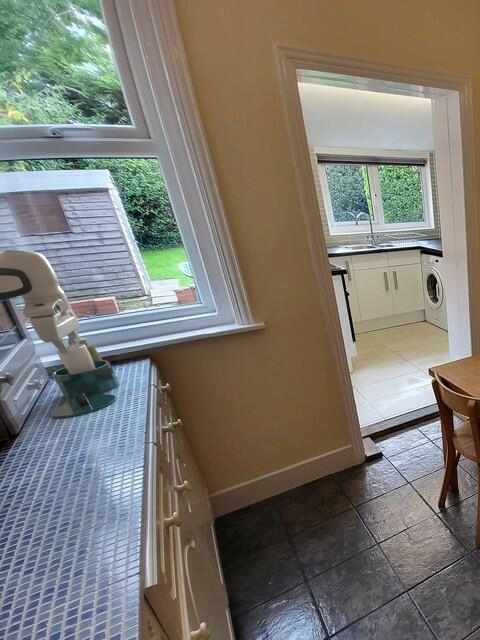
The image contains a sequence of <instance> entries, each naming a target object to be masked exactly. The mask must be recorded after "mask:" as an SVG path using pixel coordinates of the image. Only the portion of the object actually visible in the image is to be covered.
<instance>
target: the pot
mask: <svg viewBox="0 0 480 640" xmlns="http://www.w3.org/2000/svg"><path fill="white" fill-rule="evenodd" d="M93 363H94V365H95V368H96V369H93V370H89V371H85V372H81V373H76V374H70V373H69V372H68V370H67V369H66V367H65V366H64V367H61V368H59V369H56V370H54V371H53V372H52V373H51V375H52V377H53V379H54V381H55V383H56V385H57V387H58V388H59V390H60V392H61V394H62V395H63V397H64V399H67V400H75V398H74V396H73V395H75V394H78V393H85V395H86V397H90V396H96V395H102V394H104V393H106V392H109V391H112V390H113V389H115V388H118V386H119V385H120V382H119V379H118V377H117V375H116V373H115V371H114V369H113V367H112V365H111V363H110V361H108V360H105V359H104V360H103V359H102V360H99V361H93Z"/></svg>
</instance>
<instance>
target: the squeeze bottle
mask: <svg viewBox="0 0 480 640" xmlns="http://www.w3.org/2000/svg"><path fill="white" fill-rule="evenodd" d="M77 339H78V341H79V344H84V345H85V346H86V347H87V349H88V351H89V353H90V355H91V357H92V360H93V361H99V360H103V358H102V357H101V354H100V353H99V352H98V350H97V349H96V348H95V346H94V344H92V343H89V342H88V340H87V337H81V336H80V335H79V334H78V333H77ZM67 343H68V346H70V345H71V344H70V342H69V340H67Z"/></svg>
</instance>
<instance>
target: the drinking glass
mask: <svg viewBox="0 0 480 640" xmlns="http://www.w3.org/2000/svg"><path fill="white" fill-rule="evenodd" d="M66 346H67V347H68V349H69V351H68V352H67V353H60V352H59V350H58V348H56V353H57V355H58V357H59V359H60V361H61V363H62V365H63V366H64V367H66V369H67V370H68V372H69V373H70V374H76V373H81V372H85V371H89V370H93V369H96V368H95V365H94V363H93V360H92V357H91V355H90V353H89V351H88V349H87V347H86V346H85V345H84V344H76V345H70V346H69V345H66Z"/></svg>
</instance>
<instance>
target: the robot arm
mask: <svg viewBox="0 0 480 640" xmlns="http://www.w3.org/2000/svg"><path fill="white" fill-rule="evenodd" d="M20 296H21V298H22V300H23V302H24V308H23V310H22V314H23V315H24V317H25V318H26V319H29V322H30V325H31V326H32V328H33V330H34V331H35V333H36V335H37V336H38V338H39V339H40V340H41V341H42V342H43V343H52V345H53V346H54V347H55V348H56V349H58V350H59V352H60V353H67V352H68V351H69V349H68V347H67V346H68V345H66V344H65V341H64V338H66V337H67V338H68V341H69V342H70V344H71V345H76V344H79V341H78V339H77V334H78V332H77V329H79V328H80V327H81V325H80V321H79V319H78V317H77V316H76V314H75V312H74V310H73V309H72V305H71V303H70V301H69V299H68V297H67V295H66V293H65V291H64V290H63V289H62V288H61V286H60V285H59V278H58V276H57V274H56V272H55V270H54V268H53V266H52V264H51V263H50V261H49V260H48V259H47V257H45V255H43V254H42V253H40V252H37V251H33V250H21V249H6V250H4V251H2V253H0V302H4V301H8V300H10V299H14V298H18V297H20Z"/></svg>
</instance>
